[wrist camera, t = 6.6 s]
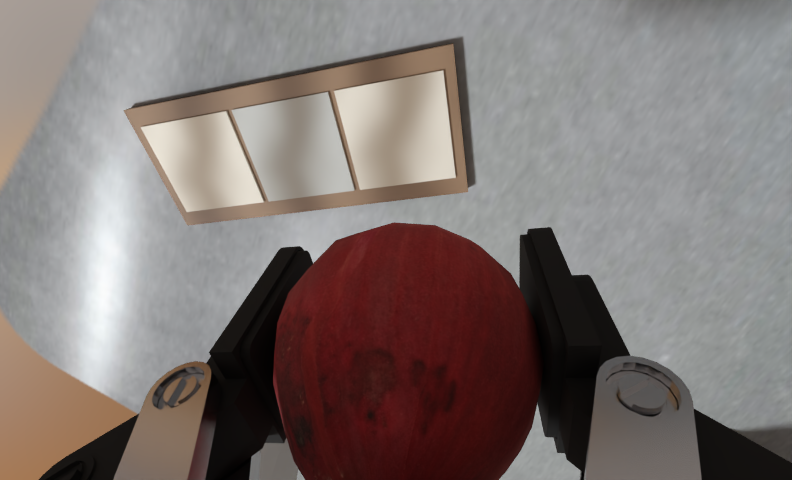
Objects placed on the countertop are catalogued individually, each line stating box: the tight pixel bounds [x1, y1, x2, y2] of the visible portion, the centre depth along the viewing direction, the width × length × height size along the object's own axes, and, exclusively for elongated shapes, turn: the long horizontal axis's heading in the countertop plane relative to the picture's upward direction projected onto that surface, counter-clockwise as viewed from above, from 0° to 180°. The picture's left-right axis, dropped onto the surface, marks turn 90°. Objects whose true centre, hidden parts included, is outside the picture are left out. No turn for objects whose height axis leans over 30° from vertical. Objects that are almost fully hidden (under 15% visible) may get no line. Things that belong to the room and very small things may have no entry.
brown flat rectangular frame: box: [124, 43, 468, 225], centre depth 25 cm, size 22×9×1 cm, turn 101°
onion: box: [273, 223, 544, 480], centre depth 8 cm, size 6×6×8 cm
